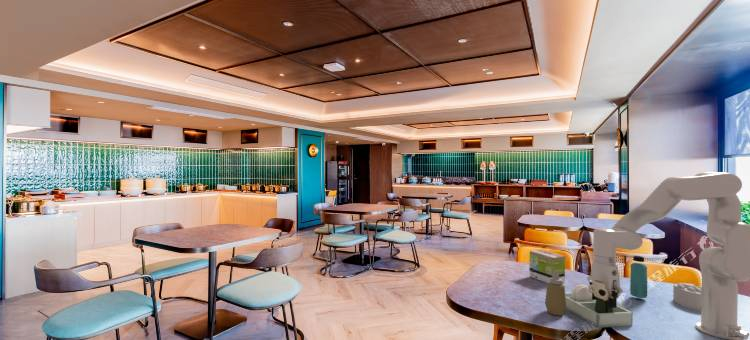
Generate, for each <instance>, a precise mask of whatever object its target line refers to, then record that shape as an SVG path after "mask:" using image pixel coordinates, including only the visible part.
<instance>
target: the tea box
mask: <svg viewBox="0 0 750 340" xmlns="http://www.w3.org/2000/svg"><path fill="white" fill-rule="evenodd" d="M554 270H558V274H559V278H560V279H562V284H565V282H566V281H565V280H566V279H565V278H566V256H565V255H562V254H559V253H555V252H551V251H547V250H545V249H537V250H531V251H529V269H528V271H529V273H528V274H529V278H533V279H535V280H538V281H541V282H543V283H546V284H548V283H549V282H550V278H551V277H553V274H554Z"/></svg>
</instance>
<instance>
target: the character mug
mask: <svg viewBox="0 0 750 340" xmlns="http://www.w3.org/2000/svg"><path fill="white" fill-rule="evenodd" d="M588 287H589V293H594V296H596V297H598V298H597V299H596V303H595V311H596V312H597V313H613V308H609V307H608V297H610V296H609V294H608V291H607V290H606V289H605V284H603V283H599V282H596V281H595V280H593V285H590V284H589V285H588ZM591 287H593V291H591ZM611 289H613V286H612V288H611ZM611 292H612V294H613V291H611Z"/></svg>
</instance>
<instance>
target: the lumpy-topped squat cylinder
mask: <svg viewBox="0 0 750 340" xmlns="http://www.w3.org/2000/svg"><path fill="white" fill-rule="evenodd" d="M672 293H673V295H672V298H673V299H672V300H673V302H675V303H676V304H678V305H679V306H681V307H685V308H687V309H690V310H691V309H692V310H695V311H701V297H702V285H699V286H696V285H695V284H694V283H689V282H688V283H686V282H678V283H674V284H673V291H672Z"/></svg>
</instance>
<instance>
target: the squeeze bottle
mask: <svg viewBox="0 0 750 340" xmlns="http://www.w3.org/2000/svg"><path fill="white" fill-rule="evenodd" d="M565 293H566V288H565V285H564V283H562V279H560V278H559V274H558V270H554V274H553V277H551V278H550V282H549V283H546V292H545V299H544V301H545V302H544V304H545V307H546V311H547V313H548V314H551V315H553V316H560V317H561V316H563V315H564V313H565V312H566V310H567V309H566V296H565Z"/></svg>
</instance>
